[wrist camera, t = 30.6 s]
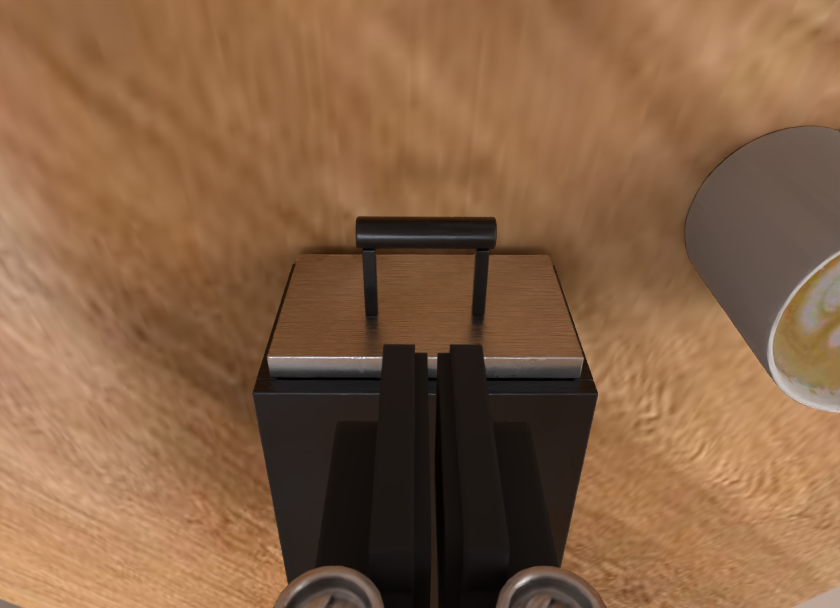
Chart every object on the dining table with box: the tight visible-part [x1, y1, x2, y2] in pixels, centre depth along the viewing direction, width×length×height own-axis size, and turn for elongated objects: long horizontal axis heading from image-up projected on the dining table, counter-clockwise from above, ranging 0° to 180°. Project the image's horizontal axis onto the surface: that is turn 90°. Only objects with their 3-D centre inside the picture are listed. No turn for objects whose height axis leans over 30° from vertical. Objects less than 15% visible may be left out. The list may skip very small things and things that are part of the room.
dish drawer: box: [267, 216, 584, 381], centre depth 34 cm, size 20×14×9 cm, turn 0°
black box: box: [252, 264, 598, 608], centre depth 37 cm, size 17×15×11 cm
